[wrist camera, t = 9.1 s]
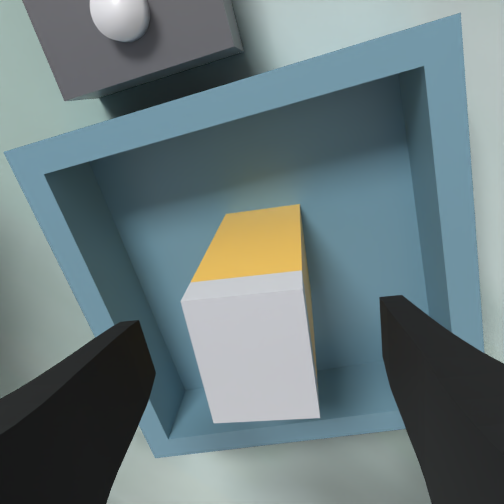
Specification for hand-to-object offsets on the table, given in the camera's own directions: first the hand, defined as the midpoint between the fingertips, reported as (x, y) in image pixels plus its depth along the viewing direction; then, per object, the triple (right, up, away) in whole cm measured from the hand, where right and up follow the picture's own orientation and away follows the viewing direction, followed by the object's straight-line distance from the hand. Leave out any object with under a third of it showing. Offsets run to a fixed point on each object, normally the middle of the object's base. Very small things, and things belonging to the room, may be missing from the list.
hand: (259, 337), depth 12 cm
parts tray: (+1, +2, +6) cm, 6 cm away
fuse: (+1, +2, +5) cm, 6 cm away
